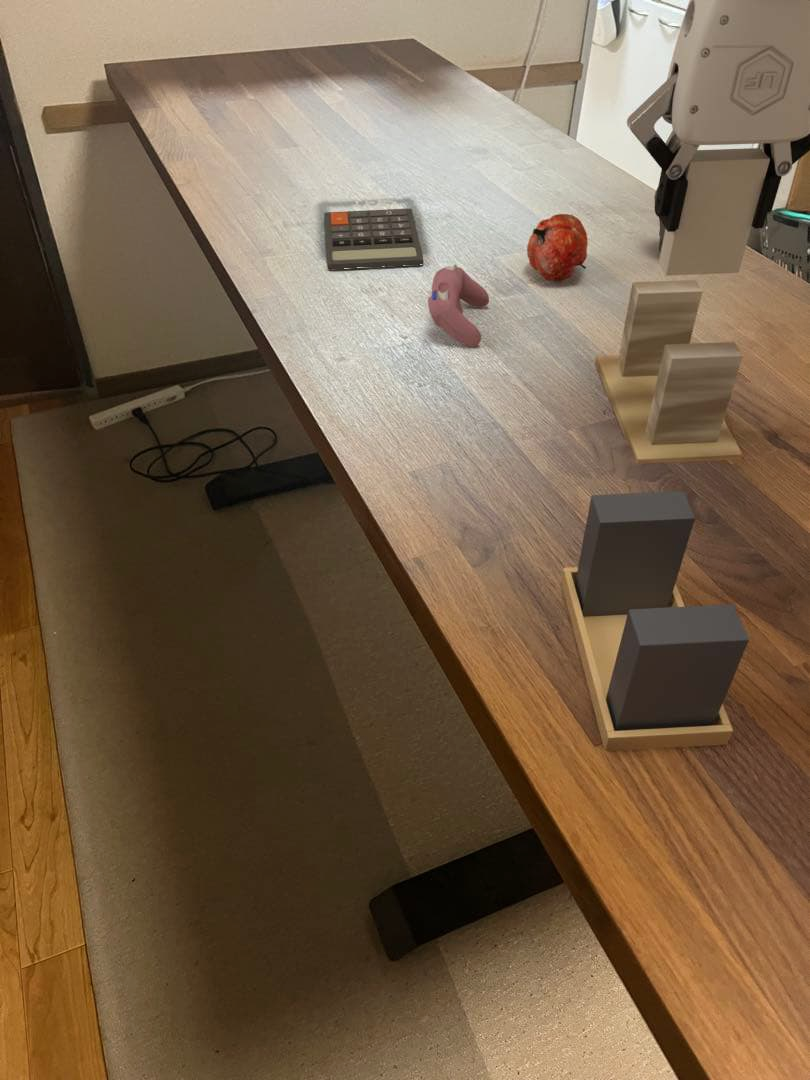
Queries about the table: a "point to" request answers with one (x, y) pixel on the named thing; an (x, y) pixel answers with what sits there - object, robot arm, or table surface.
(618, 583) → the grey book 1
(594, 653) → the shallow beige tray
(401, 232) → the calculator
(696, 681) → the dark grey block
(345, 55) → the table surface
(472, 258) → the table surface
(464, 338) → the video game controller
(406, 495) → the table surface
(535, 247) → the pomegranate
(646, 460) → the wooden block stand
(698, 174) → the beige rectangular block
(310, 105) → the table surface
